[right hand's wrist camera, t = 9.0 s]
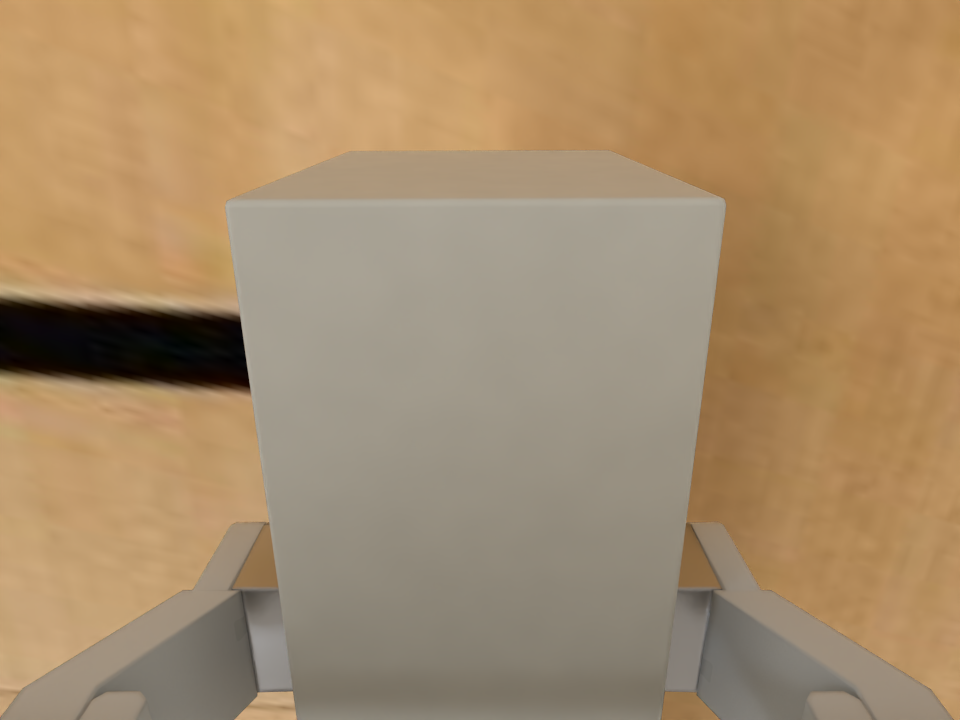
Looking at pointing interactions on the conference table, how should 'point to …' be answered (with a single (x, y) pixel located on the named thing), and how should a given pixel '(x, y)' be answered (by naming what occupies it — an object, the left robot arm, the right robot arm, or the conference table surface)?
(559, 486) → the post
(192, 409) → the conference table surface
